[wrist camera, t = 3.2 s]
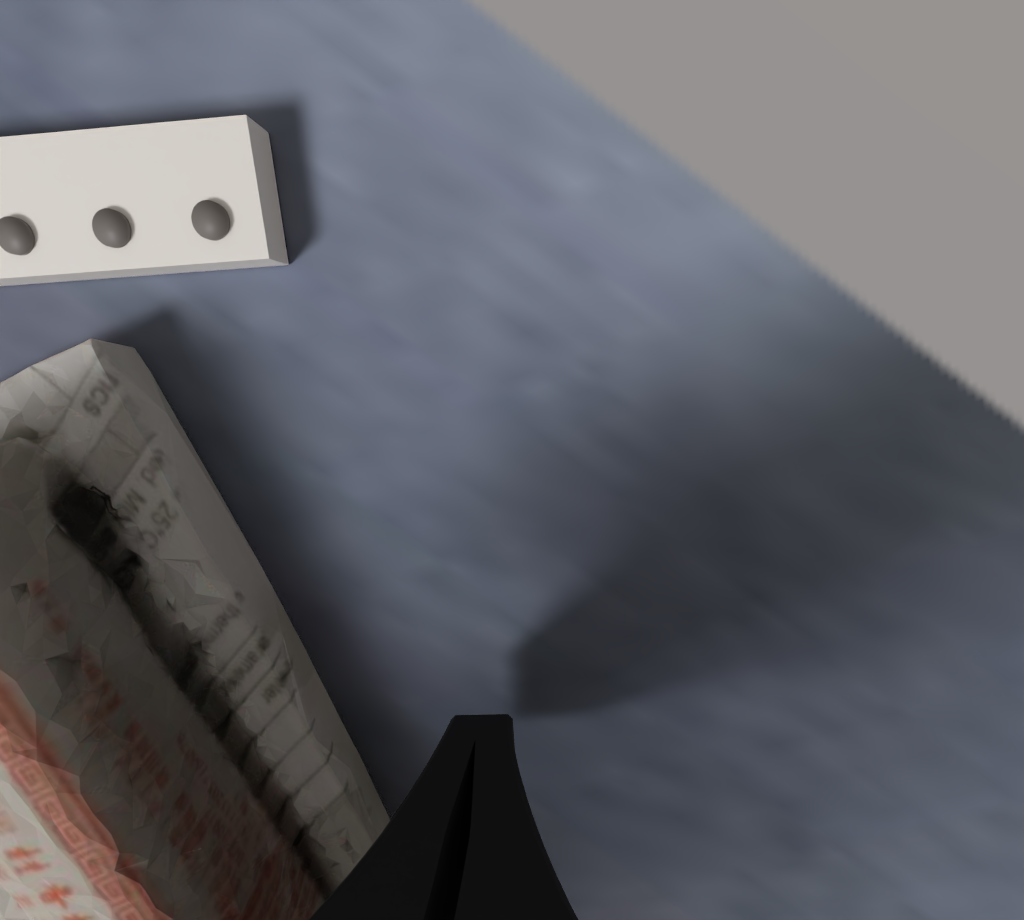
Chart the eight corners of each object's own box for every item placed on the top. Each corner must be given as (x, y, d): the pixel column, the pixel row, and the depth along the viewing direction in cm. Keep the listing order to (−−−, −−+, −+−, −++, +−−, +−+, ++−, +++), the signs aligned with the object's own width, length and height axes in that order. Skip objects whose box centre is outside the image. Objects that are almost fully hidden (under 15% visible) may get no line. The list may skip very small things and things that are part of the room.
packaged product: (419, 1164, 10) (30, 1236, 12) (456, 904, 15) (177, 976, 16) (-121, 324, 7) (-600, 563, 8) (149, 331, 11) (-177, 481, 13)
